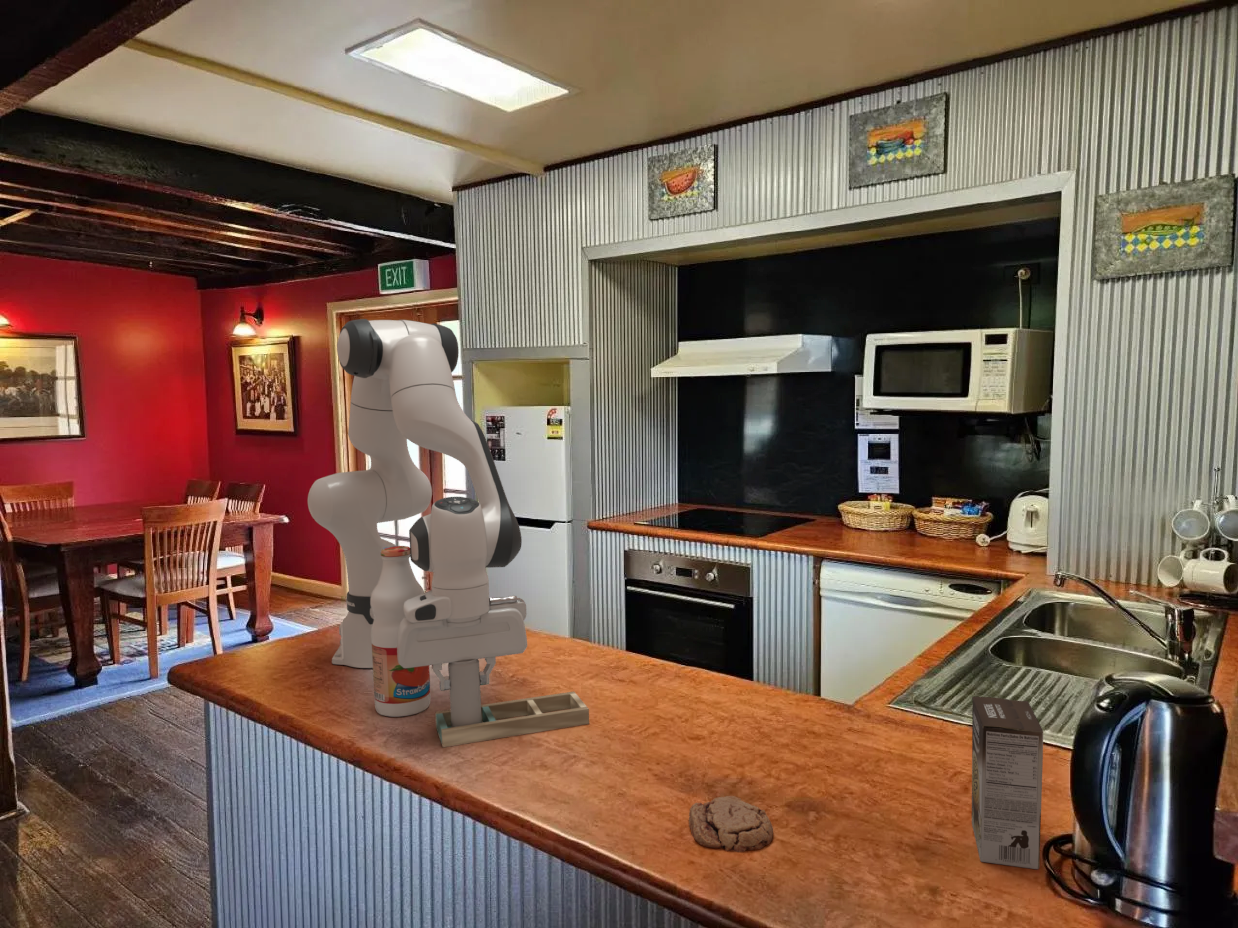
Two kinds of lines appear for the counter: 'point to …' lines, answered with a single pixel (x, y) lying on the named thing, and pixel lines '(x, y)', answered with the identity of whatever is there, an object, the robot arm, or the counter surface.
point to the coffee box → (1006, 781)
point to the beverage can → (465, 693)
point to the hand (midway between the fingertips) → (464, 686)
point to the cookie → (730, 824)
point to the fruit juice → (395, 639)
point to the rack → (515, 719)
